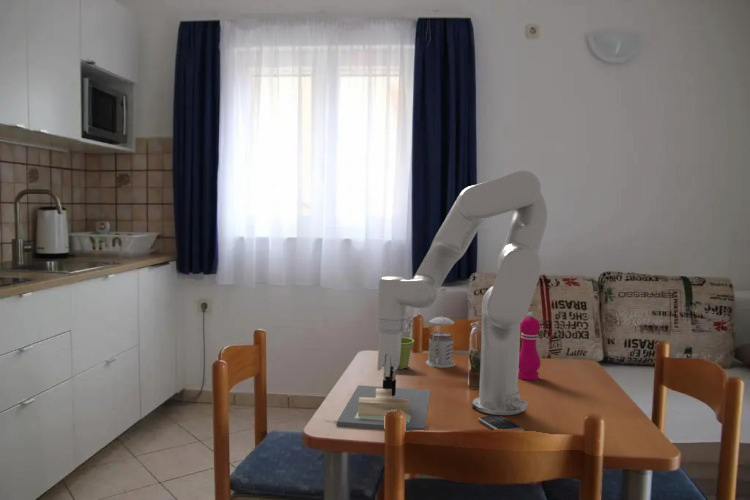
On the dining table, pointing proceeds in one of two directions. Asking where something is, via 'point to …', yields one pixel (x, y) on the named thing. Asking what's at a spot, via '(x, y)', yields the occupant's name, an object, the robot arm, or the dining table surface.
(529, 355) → the pepper mill
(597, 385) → the dining table surface
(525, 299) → the robot arm
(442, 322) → the french press
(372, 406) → the t block
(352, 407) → the mat
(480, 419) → the cell phone
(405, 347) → the plant pot
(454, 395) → the dining table surface
